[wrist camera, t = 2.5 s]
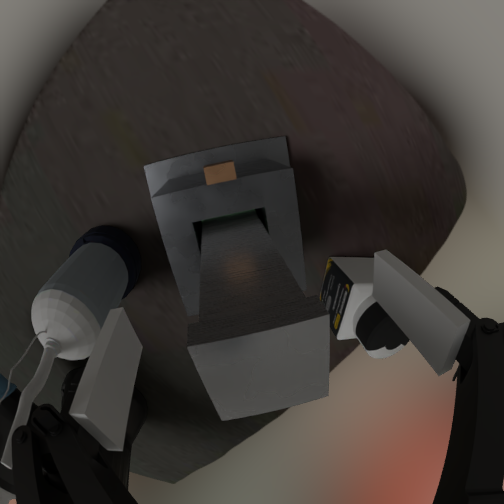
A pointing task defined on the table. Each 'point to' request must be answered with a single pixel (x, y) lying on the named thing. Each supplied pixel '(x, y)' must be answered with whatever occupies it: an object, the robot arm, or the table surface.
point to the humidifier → (77, 306)
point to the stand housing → (224, 204)
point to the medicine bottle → (359, 307)
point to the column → (255, 324)
